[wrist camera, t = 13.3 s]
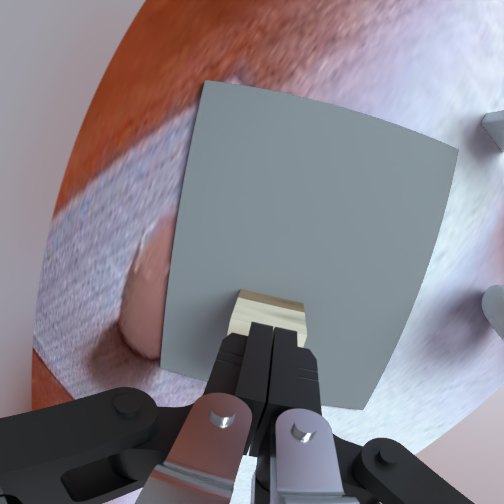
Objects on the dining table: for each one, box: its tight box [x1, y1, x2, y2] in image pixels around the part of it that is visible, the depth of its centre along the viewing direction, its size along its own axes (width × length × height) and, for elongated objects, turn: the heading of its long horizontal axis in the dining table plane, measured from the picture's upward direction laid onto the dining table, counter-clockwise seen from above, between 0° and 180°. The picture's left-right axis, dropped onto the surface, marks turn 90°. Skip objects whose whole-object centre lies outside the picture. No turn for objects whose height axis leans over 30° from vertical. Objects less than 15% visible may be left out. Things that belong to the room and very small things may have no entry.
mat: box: [160, 80, 459, 410], centre depth 29 cm, size 30×24×1 cm
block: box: [227, 289, 307, 348], centre depth 28 cm, size 6×6×6 cm
